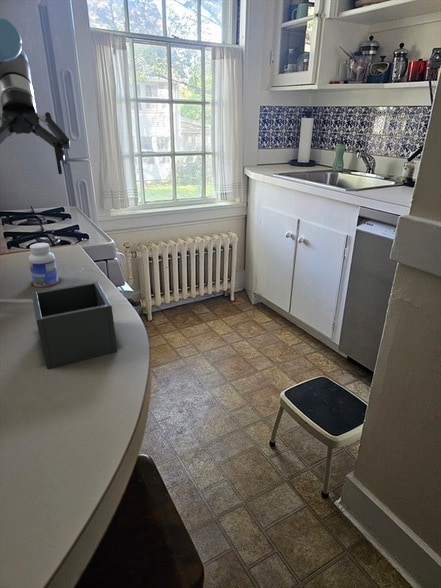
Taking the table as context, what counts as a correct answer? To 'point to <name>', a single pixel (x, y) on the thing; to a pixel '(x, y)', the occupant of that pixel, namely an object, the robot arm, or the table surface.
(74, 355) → the trash bin
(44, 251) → the pill bottle
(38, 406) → the table surface
